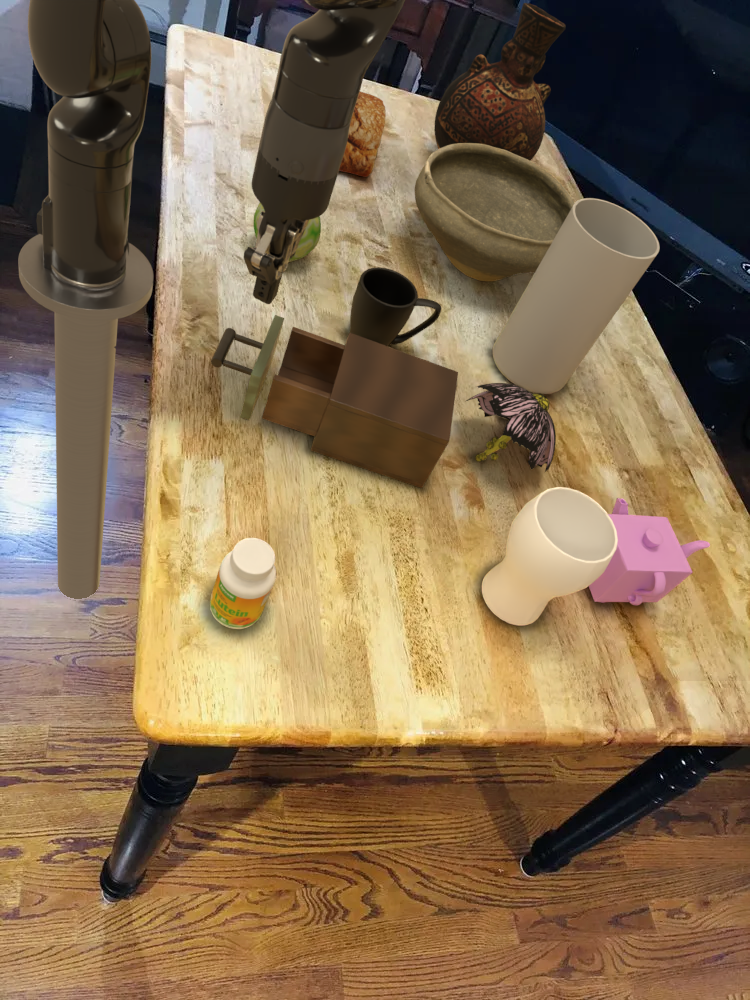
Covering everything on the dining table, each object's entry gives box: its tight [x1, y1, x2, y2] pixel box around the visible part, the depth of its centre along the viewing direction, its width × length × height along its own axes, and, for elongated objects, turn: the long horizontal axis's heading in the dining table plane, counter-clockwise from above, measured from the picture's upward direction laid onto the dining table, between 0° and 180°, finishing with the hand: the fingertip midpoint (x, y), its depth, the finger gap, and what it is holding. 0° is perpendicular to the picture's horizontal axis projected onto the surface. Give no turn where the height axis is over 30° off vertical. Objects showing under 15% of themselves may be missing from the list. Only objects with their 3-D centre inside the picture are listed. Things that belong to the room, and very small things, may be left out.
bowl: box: [414, 143, 575, 282], centre depth 125 cm, size 28×28×14 cm
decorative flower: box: [465, 382, 557, 473], centre depth 100 cm, size 15×12×15 cm
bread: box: [339, 91, 387, 178], centre depth 135 cm, size 20×18×10 cm
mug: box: [349, 266, 442, 347], centre depth 105 cm, size 8×12×10 cm
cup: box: [481, 486, 618, 626], centre depth 83 cm, size 11×11×15 cm
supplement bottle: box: [209, 537, 277, 630], centre depth 73 cm, size 5×5×10 cm
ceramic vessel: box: [434, 2, 566, 161], centre depth 138 cm, size 21×18×30 cm
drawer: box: [210, 314, 345, 437], centre depth 92 cm, size 19×11×7 cm, turn 81°
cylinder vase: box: [492, 197, 660, 395], centre depth 107 cm, size 12×12×25 cm
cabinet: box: [310, 332, 459, 489], centre depth 94 cm, size 15×13×9 cm
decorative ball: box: [253, 202, 322, 262], centre depth 111 cm, size 10×10×10 cm
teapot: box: [588, 497, 711, 606], centre depth 92 cm, size 18×13×10 cm
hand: (263, 297), depth 83 cm, fingers closed
